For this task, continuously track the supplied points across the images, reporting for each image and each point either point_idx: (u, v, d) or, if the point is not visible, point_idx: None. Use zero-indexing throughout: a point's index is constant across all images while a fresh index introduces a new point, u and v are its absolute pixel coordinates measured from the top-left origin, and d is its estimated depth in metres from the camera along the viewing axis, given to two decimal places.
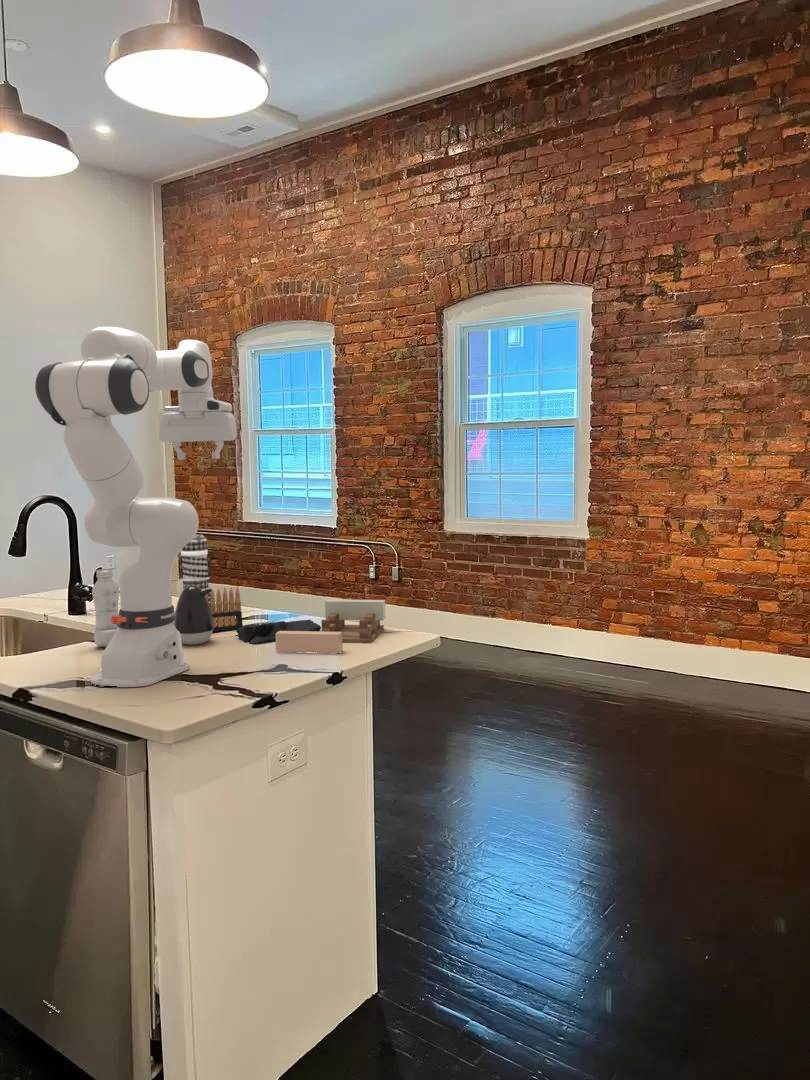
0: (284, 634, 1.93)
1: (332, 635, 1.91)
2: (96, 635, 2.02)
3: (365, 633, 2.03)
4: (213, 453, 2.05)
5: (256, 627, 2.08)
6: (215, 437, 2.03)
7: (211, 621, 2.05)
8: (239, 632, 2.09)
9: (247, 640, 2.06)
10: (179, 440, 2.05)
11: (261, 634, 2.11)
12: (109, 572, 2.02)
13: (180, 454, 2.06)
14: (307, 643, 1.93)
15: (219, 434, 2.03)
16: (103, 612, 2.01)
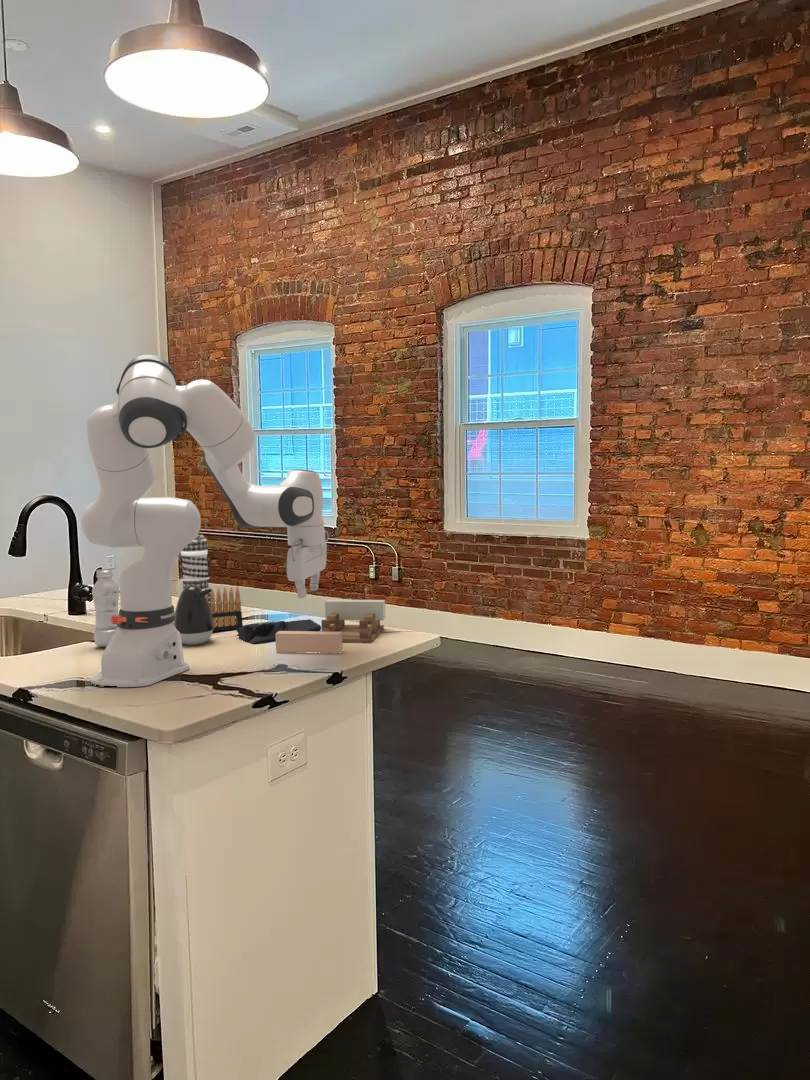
0: (284, 634, 1.93)
1: (332, 635, 1.91)
2: (96, 635, 2.02)
3: (365, 633, 2.03)
4: (316, 585, 1.97)
5: (256, 627, 2.08)
6: (321, 568, 1.97)
7: (211, 621, 2.05)
8: (239, 632, 2.10)
9: (247, 640, 2.06)
10: (308, 576, 1.88)
11: (261, 634, 2.12)
12: (109, 572, 2.02)
13: (305, 591, 1.88)
14: (307, 643, 1.93)
15: (322, 565, 1.98)
16: (103, 612, 2.01)
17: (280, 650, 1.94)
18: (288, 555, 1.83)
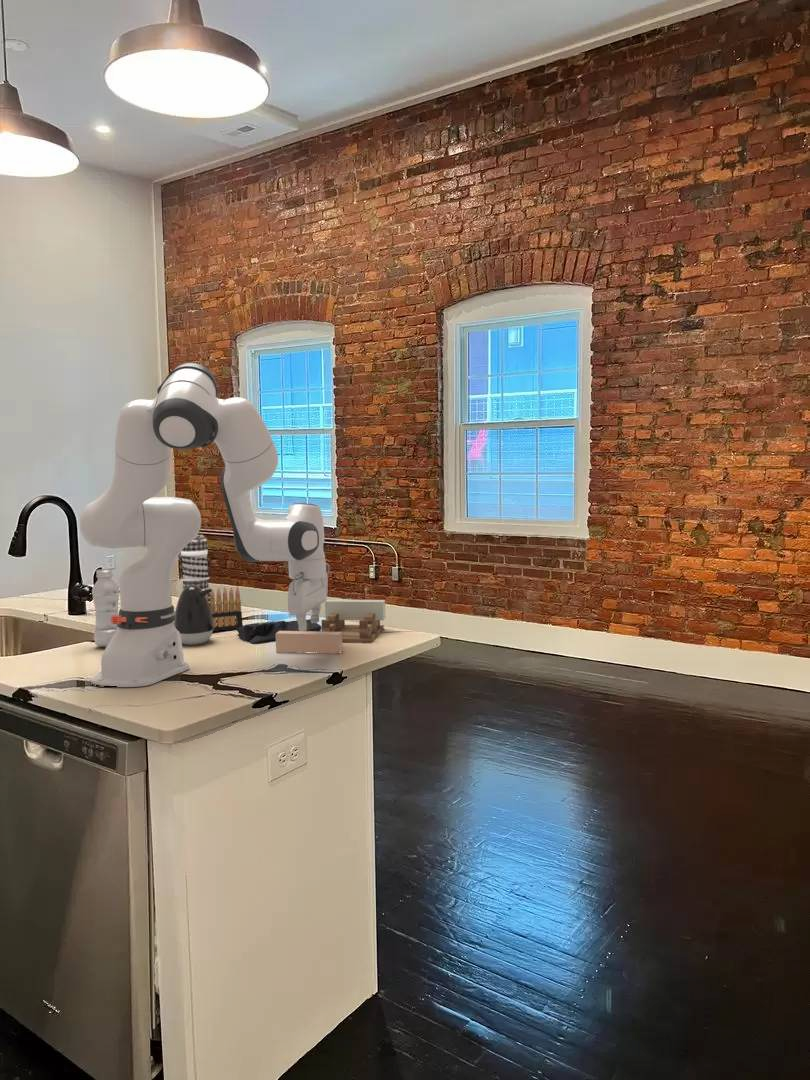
0: (284, 634, 1.93)
1: (332, 635, 1.91)
2: (96, 635, 2.02)
3: (365, 633, 2.03)
4: (317, 617, 1.97)
5: (256, 626, 2.08)
6: (322, 600, 1.98)
7: (211, 621, 2.05)
8: (240, 631, 2.10)
9: (247, 639, 2.06)
10: (309, 609, 1.88)
11: (262, 633, 2.12)
12: (109, 572, 2.02)
13: (306, 625, 1.88)
14: (307, 643, 1.93)
15: (323, 597, 1.99)
16: (103, 612, 2.01)
17: (280, 650, 1.94)
18: (289, 589, 1.83)
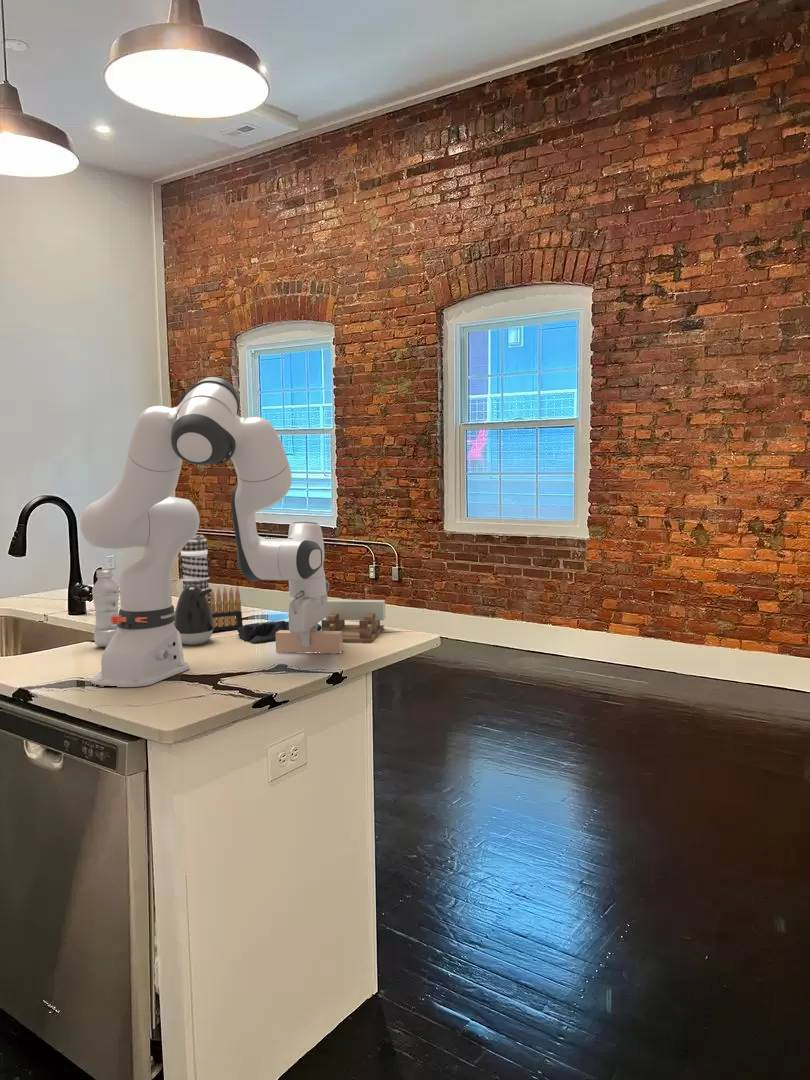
0: (284, 633, 1.93)
1: (332, 634, 1.91)
2: (96, 635, 2.02)
3: (365, 633, 2.03)
4: None
5: (256, 626, 2.08)
6: (321, 617, 1.99)
7: (211, 621, 2.05)
8: (240, 631, 2.10)
9: (247, 639, 2.07)
10: (309, 628, 1.89)
11: (262, 633, 2.12)
12: (109, 572, 2.02)
13: (310, 640, 1.92)
14: None
15: (323, 614, 2.00)
16: (103, 612, 2.01)
17: (280, 649, 1.94)
18: (290, 608, 1.84)
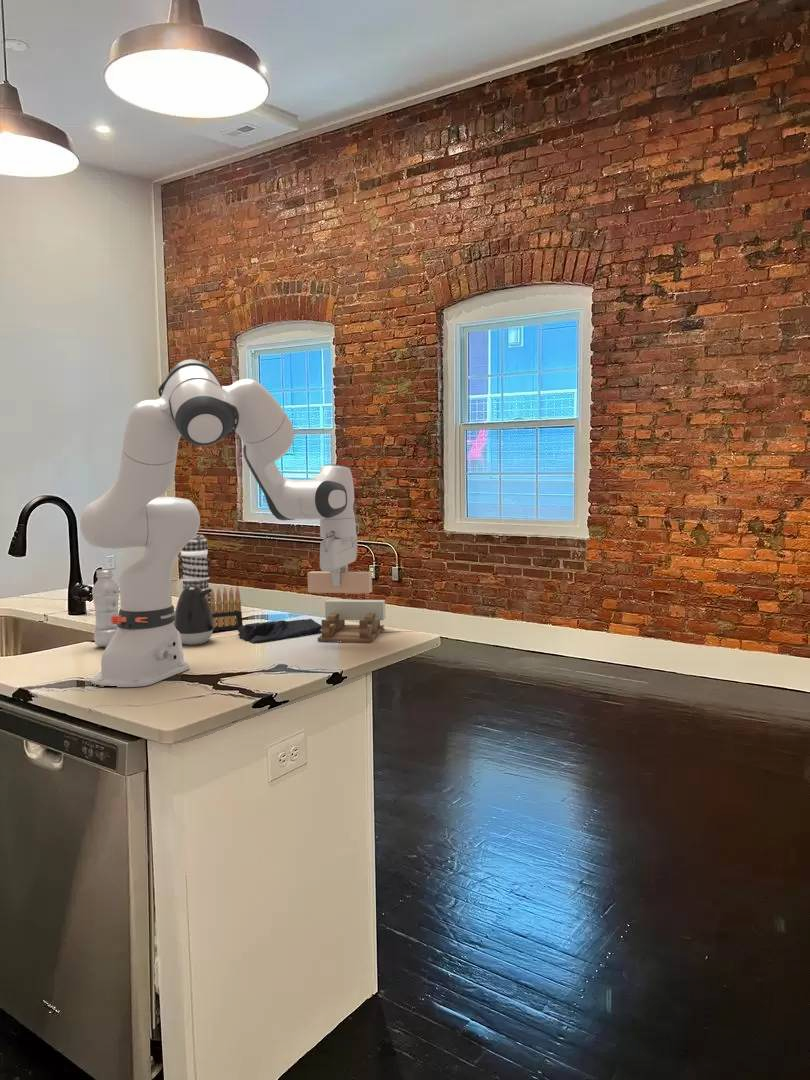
0: (315, 573, 2.00)
1: (362, 574, 1.97)
2: (96, 635, 2.02)
3: (365, 633, 2.03)
4: None
5: (257, 626, 2.09)
6: (352, 560, 2.05)
7: (211, 621, 2.05)
8: (240, 631, 2.11)
9: (247, 639, 2.07)
10: (340, 567, 1.95)
11: (262, 633, 2.13)
12: (109, 572, 2.02)
13: (340, 580, 1.98)
14: None
15: (353, 556, 2.06)
16: (103, 612, 2.01)
17: (312, 589, 2.01)
18: (321, 546, 1.91)
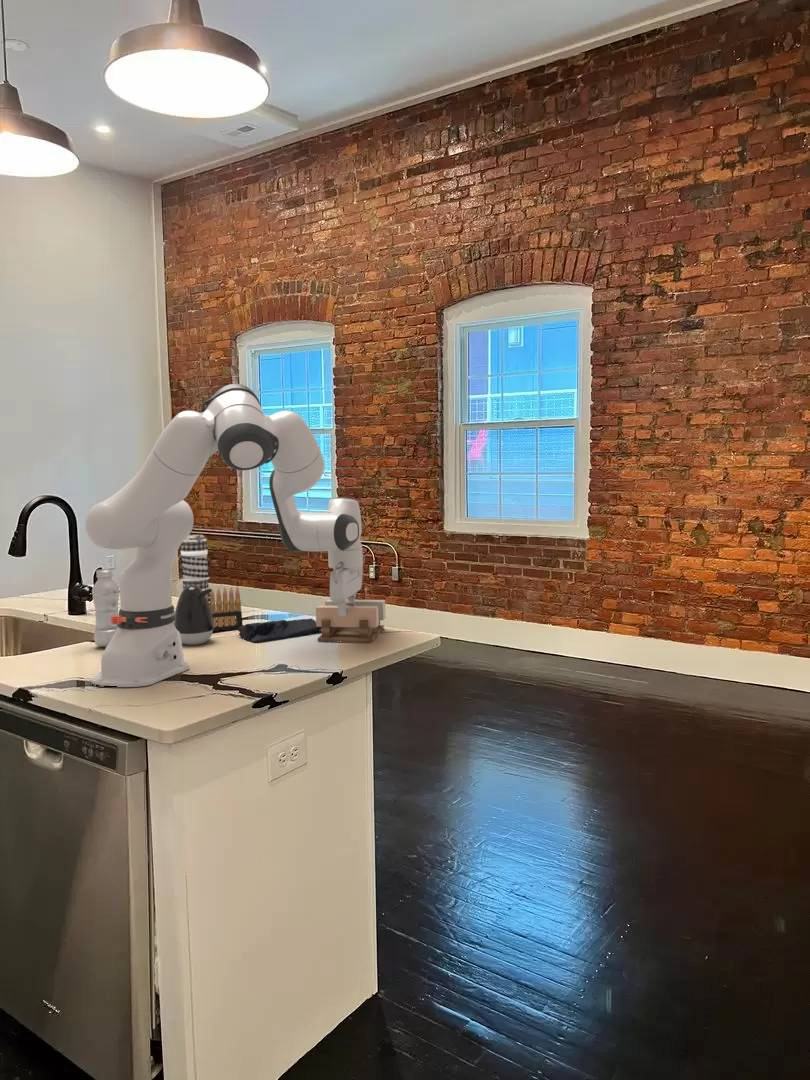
0: (324, 608, 2.06)
1: (369, 609, 2.04)
2: (96, 635, 2.02)
3: (365, 633, 2.03)
4: (353, 605, 2.10)
5: (257, 626, 2.09)
6: (358, 588, 2.11)
7: (211, 621, 2.05)
8: (241, 630, 2.11)
9: (248, 638, 2.07)
10: (348, 597, 2.02)
11: (262, 633, 2.13)
12: (109, 572, 2.02)
13: (346, 610, 2.03)
14: (345, 616, 2.05)
15: (359, 585, 2.12)
16: (103, 612, 2.01)
17: (320, 623, 2.07)
18: (331, 577, 1.97)
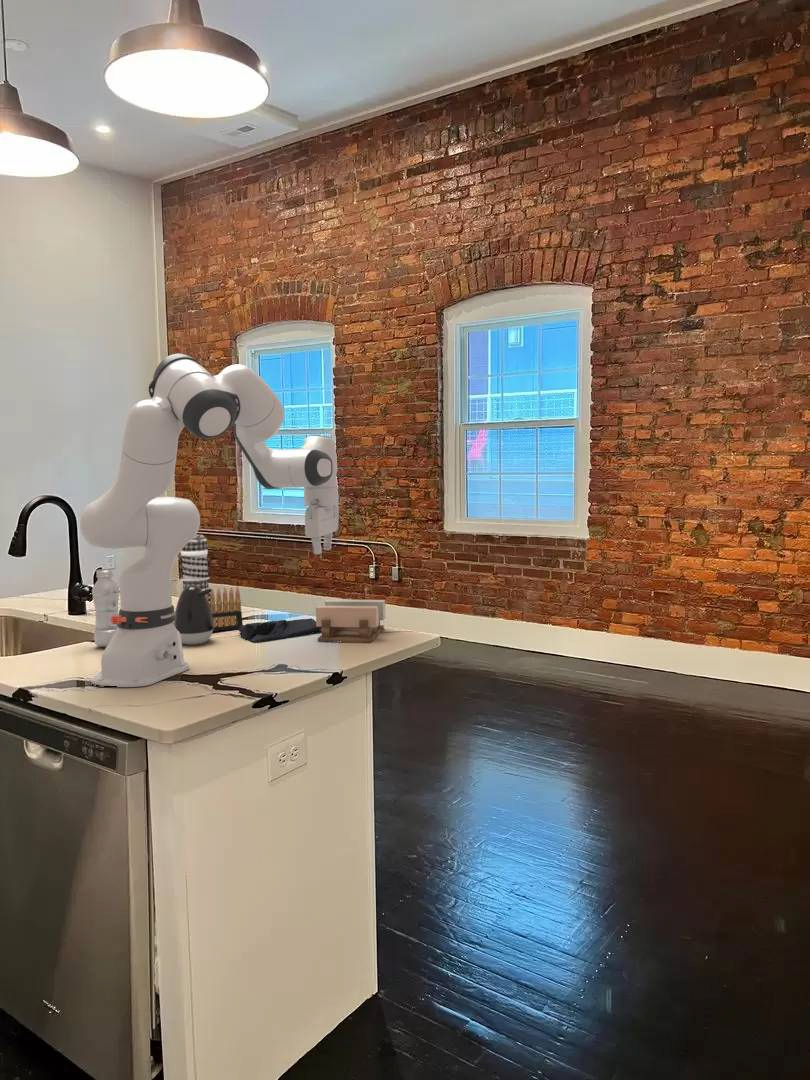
0: (324, 608, 2.06)
1: (369, 609, 2.04)
2: (96, 635, 2.02)
3: (365, 633, 2.03)
4: (330, 544, 2.12)
5: (257, 625, 2.09)
6: (334, 529, 2.12)
7: (211, 621, 2.05)
8: (241, 630, 2.11)
9: (248, 638, 2.08)
10: (323, 534, 2.03)
11: (263, 632, 2.13)
12: (109, 572, 2.02)
13: (321, 548, 2.03)
14: (345, 616, 2.05)
15: (335, 526, 2.13)
16: (103, 612, 2.01)
17: (320, 623, 2.07)
18: (306, 513, 1.98)
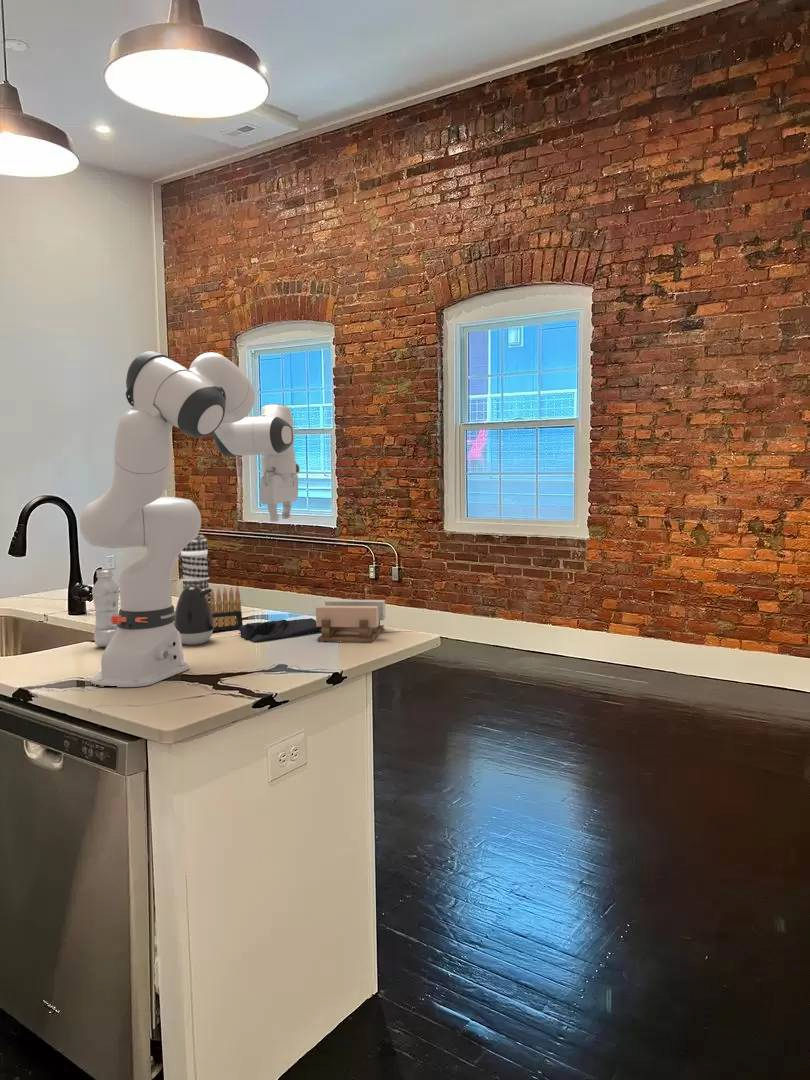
0: (324, 608, 2.06)
1: (369, 609, 2.04)
2: (96, 635, 2.02)
3: (365, 633, 2.03)
4: (288, 513, 2.14)
5: (257, 625, 2.10)
6: (292, 498, 2.15)
7: (211, 621, 2.05)
8: (241, 630, 2.12)
9: (248, 638, 2.08)
10: (280, 502, 2.05)
11: (263, 632, 2.14)
12: (109, 572, 2.02)
13: (277, 516, 2.05)
14: (345, 616, 2.05)
15: (294, 495, 2.16)
16: (103, 612, 2.01)
17: (320, 623, 2.07)
18: (261, 480, 2.00)
